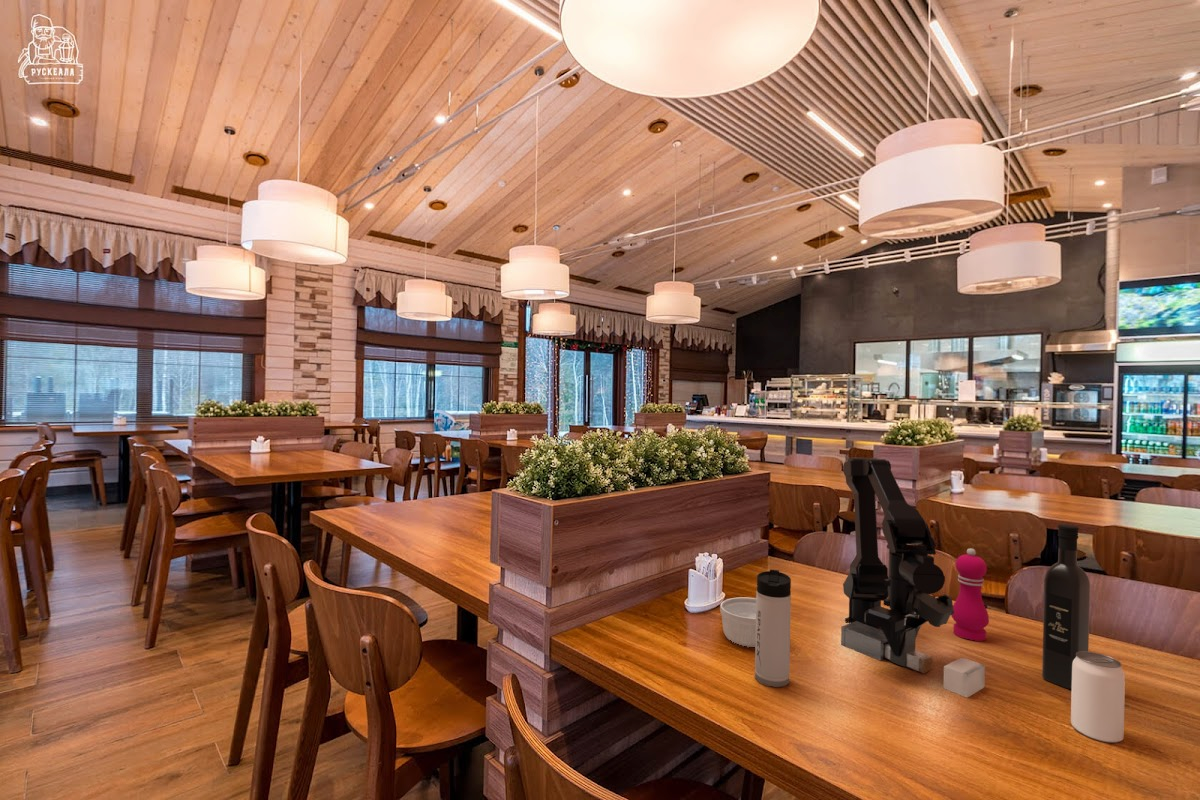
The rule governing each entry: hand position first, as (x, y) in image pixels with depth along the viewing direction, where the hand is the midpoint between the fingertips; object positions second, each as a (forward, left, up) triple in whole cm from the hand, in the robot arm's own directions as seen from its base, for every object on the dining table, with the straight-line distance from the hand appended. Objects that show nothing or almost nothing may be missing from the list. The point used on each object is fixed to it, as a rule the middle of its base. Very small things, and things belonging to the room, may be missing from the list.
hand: (902, 653), depth 116 cm
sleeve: (-7, 0, -2) cm, 7 cm away
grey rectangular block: (+12, 0, -2) cm, 12 cm away
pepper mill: (+1, +27, -2) cm, 27 cm away
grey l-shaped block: (-2, 0, -2) cm, 3 cm away
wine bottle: (+21, +19, -2) cm, 28 cm away
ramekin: (-25, -17, -2) cm, 30 cm away
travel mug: (-10, -28, -2) cm, 30 cm away
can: (+30, +3, -2) cm, 30 cm away
